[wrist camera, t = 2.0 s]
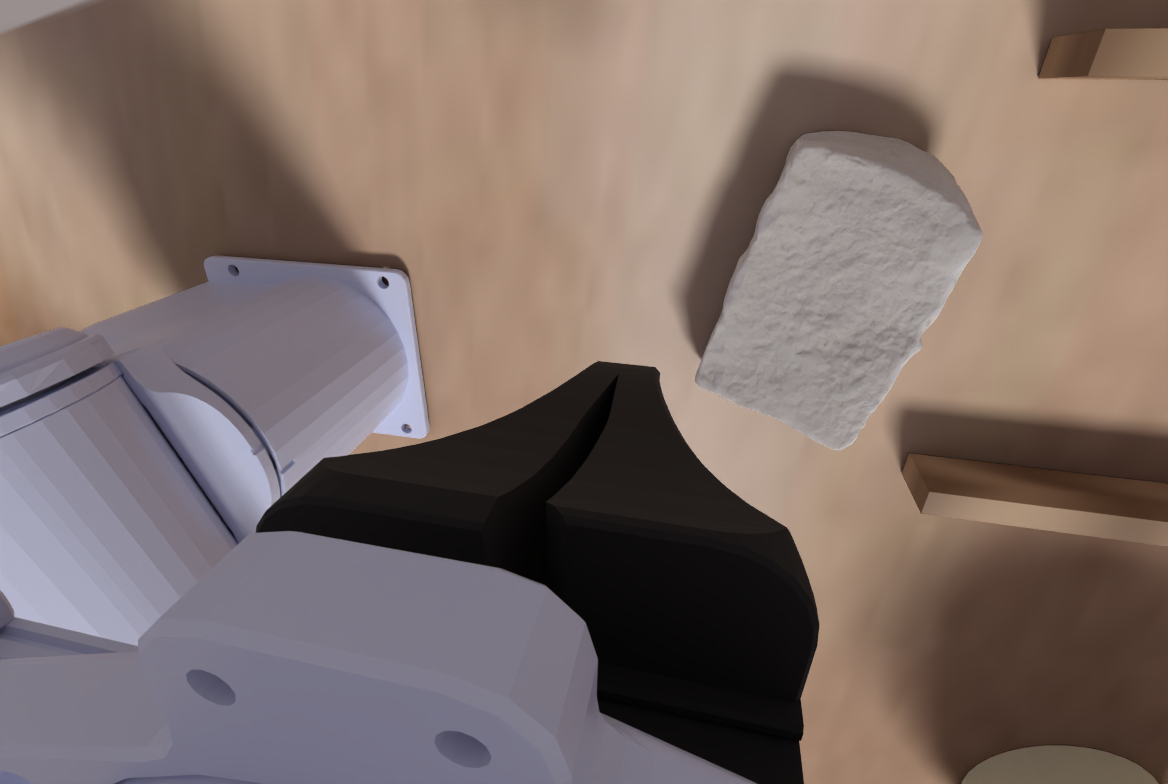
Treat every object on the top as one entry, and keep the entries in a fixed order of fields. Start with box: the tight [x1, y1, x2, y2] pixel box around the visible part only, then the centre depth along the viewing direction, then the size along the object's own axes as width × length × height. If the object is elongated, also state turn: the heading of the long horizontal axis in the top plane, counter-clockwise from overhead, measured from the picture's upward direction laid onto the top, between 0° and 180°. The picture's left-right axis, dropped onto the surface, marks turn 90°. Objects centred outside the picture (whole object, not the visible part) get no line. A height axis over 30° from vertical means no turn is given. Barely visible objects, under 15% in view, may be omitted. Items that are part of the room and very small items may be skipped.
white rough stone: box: [695, 131, 983, 450], centre depth 19 cm, size 10×6×6 cm, turn 159°
